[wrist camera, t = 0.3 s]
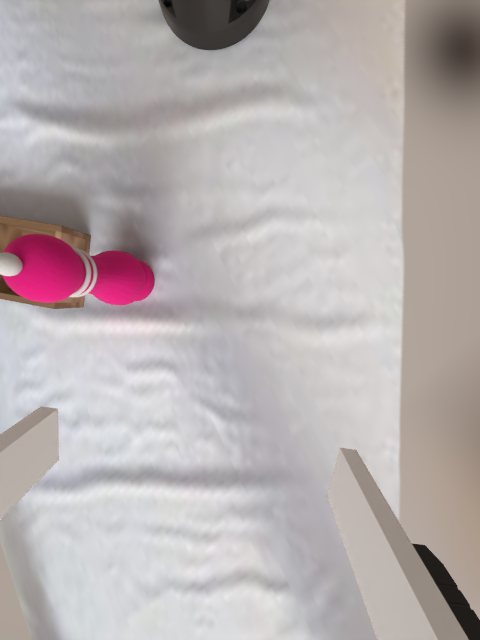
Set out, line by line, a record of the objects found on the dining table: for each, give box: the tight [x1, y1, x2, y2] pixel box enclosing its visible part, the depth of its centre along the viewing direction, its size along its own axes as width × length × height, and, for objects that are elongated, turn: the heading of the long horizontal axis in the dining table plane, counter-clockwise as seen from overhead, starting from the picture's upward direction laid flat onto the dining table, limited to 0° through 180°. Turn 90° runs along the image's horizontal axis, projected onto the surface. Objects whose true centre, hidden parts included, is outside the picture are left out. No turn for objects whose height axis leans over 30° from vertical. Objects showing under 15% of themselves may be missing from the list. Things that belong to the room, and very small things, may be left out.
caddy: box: [0, 216, 91, 309], centre depth 37 cm, size 11×21×6 cm, turn 80°
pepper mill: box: [0, 234, 154, 305], centre depth 28 cm, size 7×7×20 cm
